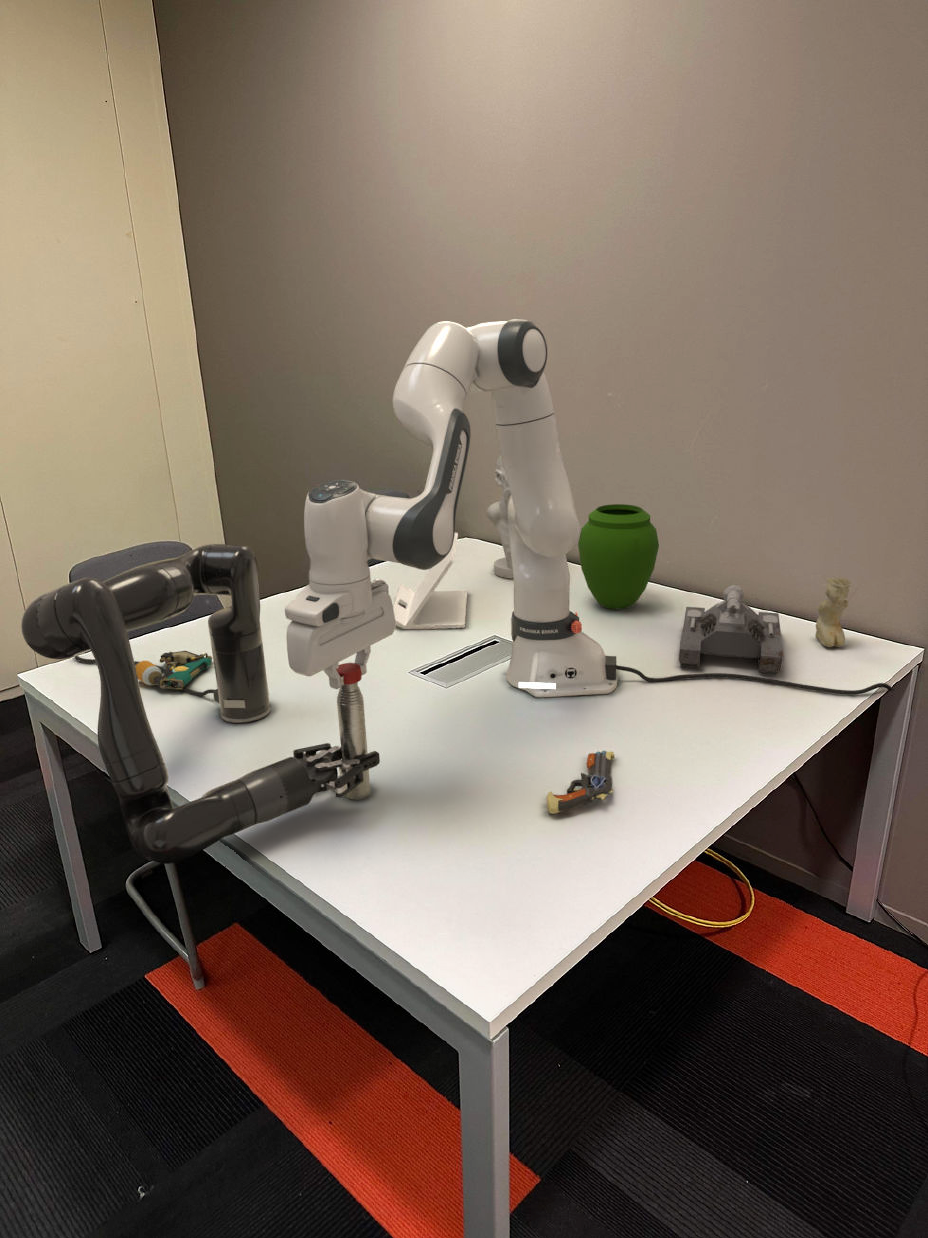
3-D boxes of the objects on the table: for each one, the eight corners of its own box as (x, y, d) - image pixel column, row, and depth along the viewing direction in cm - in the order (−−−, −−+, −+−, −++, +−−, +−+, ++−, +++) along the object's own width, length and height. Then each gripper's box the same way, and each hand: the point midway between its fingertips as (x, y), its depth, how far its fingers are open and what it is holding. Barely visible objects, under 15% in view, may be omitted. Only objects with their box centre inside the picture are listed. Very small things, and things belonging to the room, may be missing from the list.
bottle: (368, 784, 138) (359, 665, 131) (371, 797, 135) (362, 675, 127) (343, 788, 138) (333, 668, 130) (346, 801, 134) (335, 678, 126)
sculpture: (821, 649, 184) (830, 583, 179) (808, 637, 191) (816, 573, 185) (848, 649, 184) (858, 582, 179) (834, 636, 191) (843, 572, 185)
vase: (599, 587, 227) (601, 497, 218) (668, 600, 216) (673, 505, 208) (562, 608, 212) (564, 513, 204) (634, 623, 202) (639, 523, 193)
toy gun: (544, 802, 127) (611, 800, 125) (554, 748, 145) (614, 745, 143) (546, 819, 128) (613, 817, 126) (556, 762, 146) (615, 760, 144)
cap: (341, 687, 126) (340, 675, 126) (331, 677, 130) (330, 666, 129) (365, 680, 128) (365, 669, 128) (355, 671, 132) (354, 660, 131)
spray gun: (177, 659, 191) (231, 671, 185) (120, 684, 176) (176, 698, 171) (176, 641, 190) (230, 653, 184) (118, 665, 175) (174, 678, 169)
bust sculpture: (503, 593, 225) (502, 460, 212) (483, 567, 247) (480, 445, 234) (562, 587, 228) (563, 456, 215) (536, 562, 250) (536, 441, 237)
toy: (684, 626, 199) (689, 565, 194) (775, 633, 193) (782, 570, 188) (677, 670, 176) (682, 601, 171) (780, 679, 171) (788, 608, 165)
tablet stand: (467, 593, 225) (465, 531, 219) (465, 628, 202) (462, 559, 196) (399, 594, 226) (395, 532, 220) (388, 629, 203) (384, 560, 197)
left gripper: (294, 788, 119) (394, 746, 129) (247, 750, 129) (343, 715, 139) (299, 833, 122) (397, 789, 132) (253, 793, 132) (347, 755, 142)
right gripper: (370, 572, 134) (376, 653, 139) (275, 611, 118) (285, 701, 123) (402, 578, 130) (406, 661, 135) (308, 619, 115) (317, 711, 120)
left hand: (369, 751), depth 135 cm, fingers closed on bottle, 4 cm apart
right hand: (348, 680), depth 129 cm, fingers closed on cap, 4 cm apart
